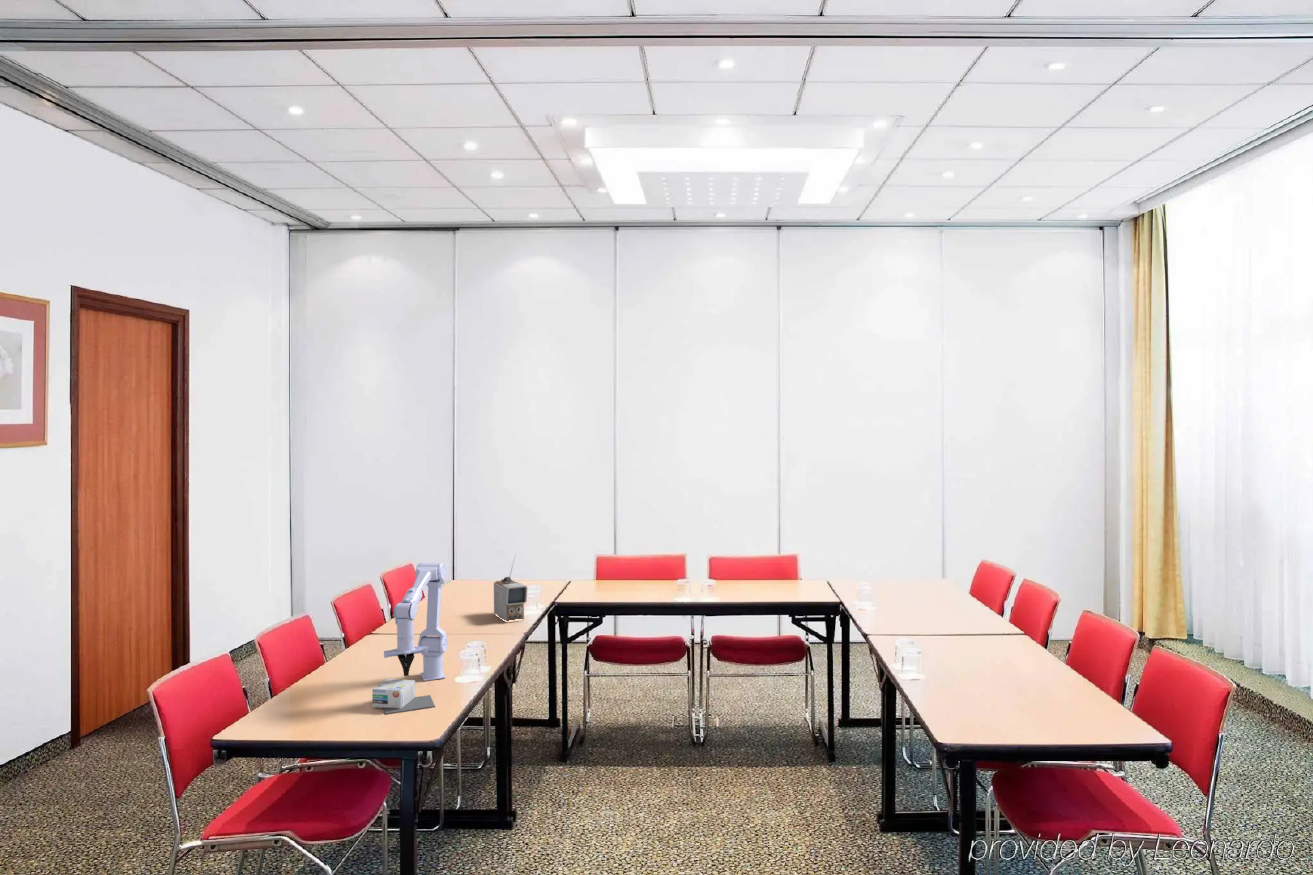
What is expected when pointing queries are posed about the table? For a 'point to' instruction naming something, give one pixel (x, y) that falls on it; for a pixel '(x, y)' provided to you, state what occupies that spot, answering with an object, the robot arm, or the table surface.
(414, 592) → the robot arm
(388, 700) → the light bulb box
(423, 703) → the mat
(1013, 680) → the table surface
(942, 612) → the table surface
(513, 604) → the portable television
